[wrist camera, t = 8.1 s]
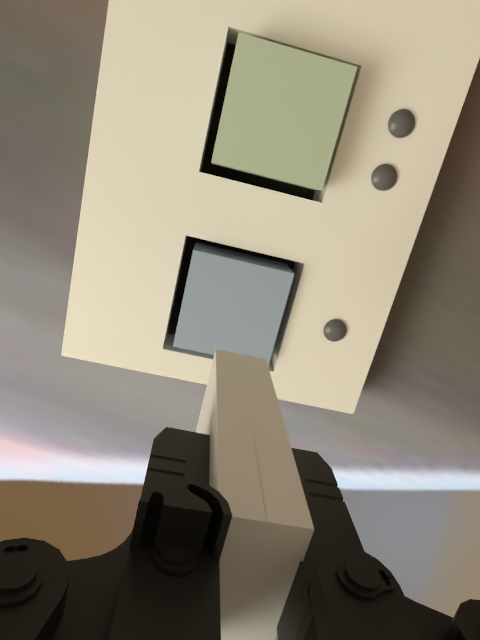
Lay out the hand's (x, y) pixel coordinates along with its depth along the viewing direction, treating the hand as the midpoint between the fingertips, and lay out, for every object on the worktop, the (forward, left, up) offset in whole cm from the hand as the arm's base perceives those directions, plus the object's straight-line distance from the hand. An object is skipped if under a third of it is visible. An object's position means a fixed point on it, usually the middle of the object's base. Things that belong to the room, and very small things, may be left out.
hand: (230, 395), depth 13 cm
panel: (0, +9, -13) cm, 15 cm away
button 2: (0, +9, -11) cm, 14 cm away
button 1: (0, 0, -12) cm, 12 cm away
